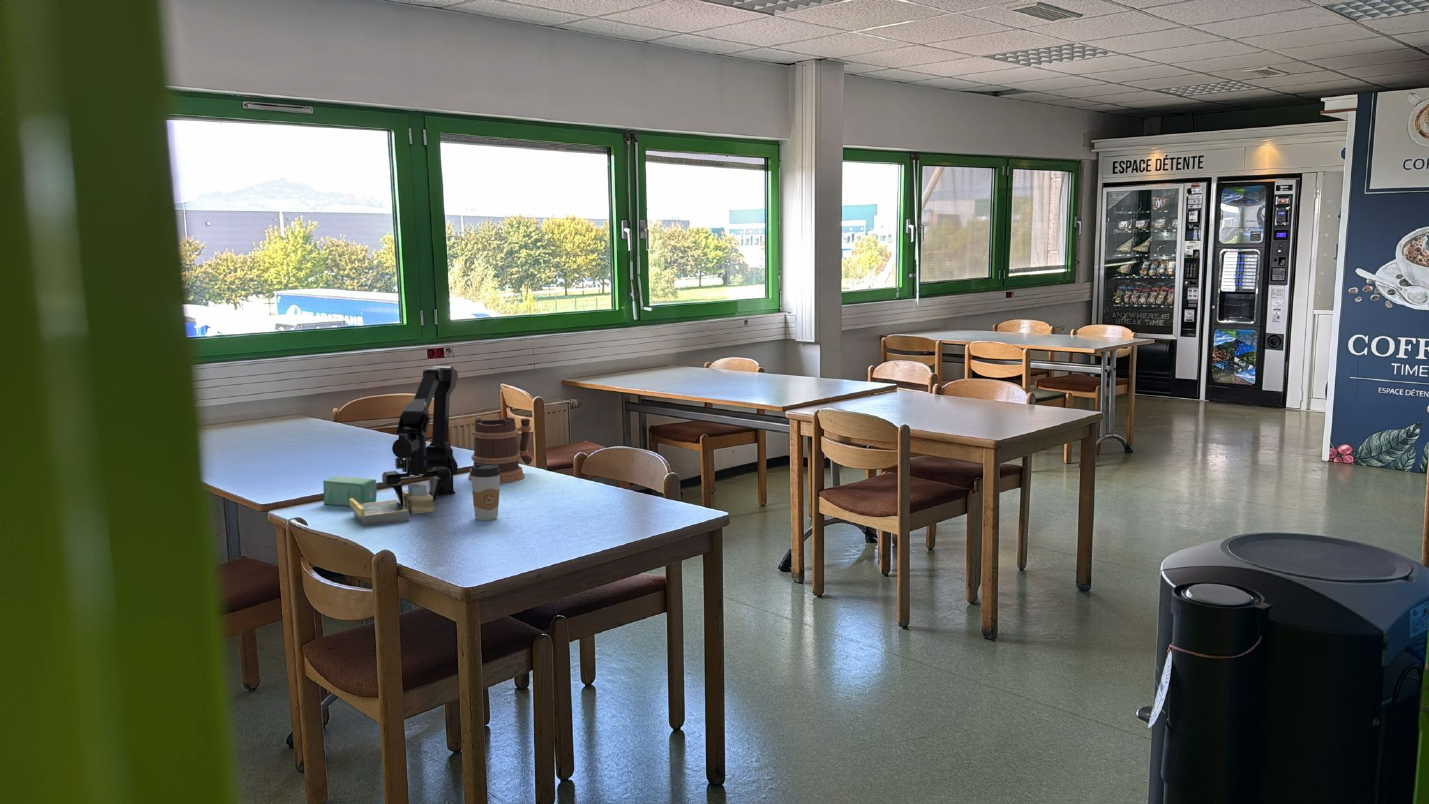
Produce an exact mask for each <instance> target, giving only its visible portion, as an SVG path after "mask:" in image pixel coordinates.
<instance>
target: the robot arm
mask: <svg viewBox="0 0 1429 804" xmlns="http://www.w3.org/2000/svg"><path fill="white" fill-rule="evenodd" d="M458 378H459V374H458V371H457V369H455V367H454V366H451V365H450V366H449V365H448V366H447V365H446V366H445V365H443V366H442V365H441V366H440V365H439V366H438V365H437V366H436V365H434V366H432V367H430V368H429V367H427V368H424V369H423V371H422V377H421V380H420V382H419V385H418V387H417V389H416V393H415V395H414V398H413V400H412V401H411V402H409V403H407V404H406V405H405V407H404V409H403V410H402V412H401V413H400V416H399V420H398V424H397V429H396V434H397V435H398V439H396V440H395V441H394V442H393V443H392V446H391V449H392V450H391V451H392V453H393V455H394V456H395V457H396V458H395V463H394V465H395V469H396V470H391V471H390V470H389V471H383V473H382V475H381V480H382V482H383V483H384V484H385V485H388V486H389V487H390V488H393V490H394V492H395V494H396V496H397V500H398V502H399V503H400V504H401V505H403V492H402V491H403V484H401V481H405V480H413V479H423V478H428V486H429V487H428V488H429V491H428V492H430V493H431V495H432V496H433V504H434V503H435V502H436V499H437V497H438V496H439V495H441V496H442V495H449V494H450V495H451V494H456V491H455V490H454V475H457V474H458V470H459V469H458V468H459V465H458V463H457V461H456V459H455V457H454V450H453V448H452V447H451V445H450V443H449V422H450V421H449V420H450V419H449V418H450V399H451V398H450V397H451V394H452V392H453V391H454V390H455V388H456V386H457V384H456V383H457V381H458ZM432 400H433V410H432V411H433V414H432V434H431V436H432V437H431V439H432V440H431V442H430V444H428V446H427V441H426V440H427V439H426V438H427V434H428V429H429V425H430V424H431V423H430V422H431V415H430V411H429V409H430V406H431V403H432ZM397 470H402V472H401V473H399V472H398V471H397Z"/></svg>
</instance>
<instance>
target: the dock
mask: <svg viewBox="0 0 1429 804" xmlns="http://www.w3.org/2000/svg"><path fill="white" fill-rule="evenodd" d="M349 501H350V506H349V507H350V508H351V509H353V516H354V518H355V519H357V520H358V521H359V523H361V524H362V525H363V526H364V527H373V526H382V525H388V524H389V525H390V524H396V523H404V522H405V523H406V522H409V521H410V510H407V507H404V506H403V505H401V504H400V502H399V500H398V499H390V500H382V501H376V502H371V503H363V504H359V503H358V502H357V501H356V500H355V499H353V498H349Z"/></svg>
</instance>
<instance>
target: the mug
mask: <svg viewBox="0 0 1429 804" xmlns="http://www.w3.org/2000/svg"><path fill="white" fill-rule="evenodd" d="M530 423H531V420H530V418H527V417H526V418H524V417H523V418H521V419H520V424H521V425H520V426H519V427H516V425H517V424H516V419H515V418H514V417H511V416H507V417H505V418H504V417H503V418H498V419H482V418H481V417H475V419H474V429H473V430H472V432H471V433H472V436H473V437H474V443H473V445H474V446H473V447H474V448H473V454H471V460H472V461H473V466H474V465H477V464H497V465H498V466H499V469H500V473H501V474H500V482H499V484H506V483H507V484H508V483H514V482H517V481H521V480H523V479H525V474H524V472H523V471H524V469H523V467H522V466H520V465H519V464H520V463H519V460H520V458H521V460H522V462H524V464H526V466H528V465H530V464H531V463H532V461H533V458H532V456H530V454H529V450H528V445H529V444H528V442H529V437H530V432H531V429H532V426H531V425H530ZM519 432H521V433H520V434H521V435H520V442H519V450H518V441H517V439H518V437H517V436H518V435H519ZM471 470H472V468H470V469H469V475H468V477H467V480H468V481H470V482H472V479H471V475H470V474H471Z"/></svg>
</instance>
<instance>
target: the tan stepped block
mask: <svg viewBox="0 0 1429 804" xmlns="http://www.w3.org/2000/svg"><path fill="white" fill-rule="evenodd" d="M402 492H403V506H404V507H405V508H406V509H407V510H409V511H410V513H411V514H412V515H415V514H425V513H432V512H434V503H433V496H432V494H430V493H429V491H427V495H419V496H412V495H411V494H409V493H408V489H407V490H402Z"/></svg>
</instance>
